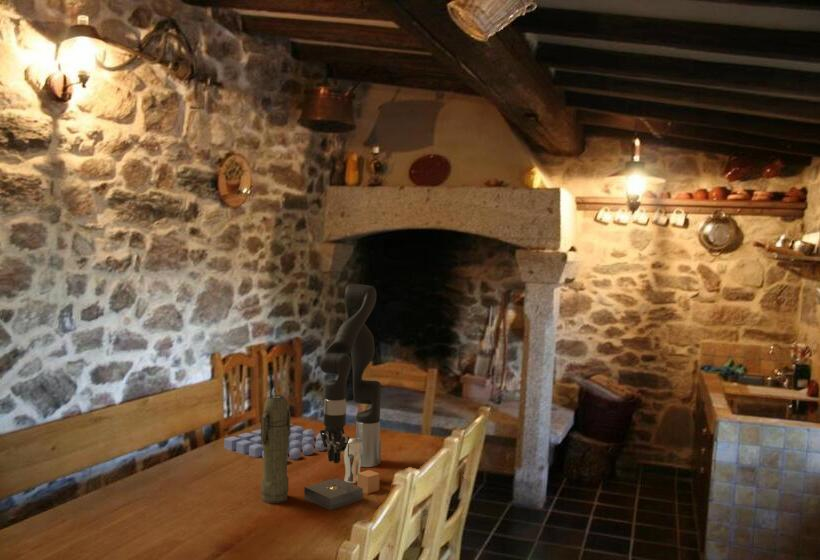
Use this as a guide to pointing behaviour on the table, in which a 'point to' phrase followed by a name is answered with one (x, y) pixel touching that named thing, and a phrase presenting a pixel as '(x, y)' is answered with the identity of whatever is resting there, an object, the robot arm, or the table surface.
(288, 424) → the green stone statue
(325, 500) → the plate
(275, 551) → the table surface
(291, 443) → the blocks
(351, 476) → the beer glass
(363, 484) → the light brown cube
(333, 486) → the pin
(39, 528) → the table surface
